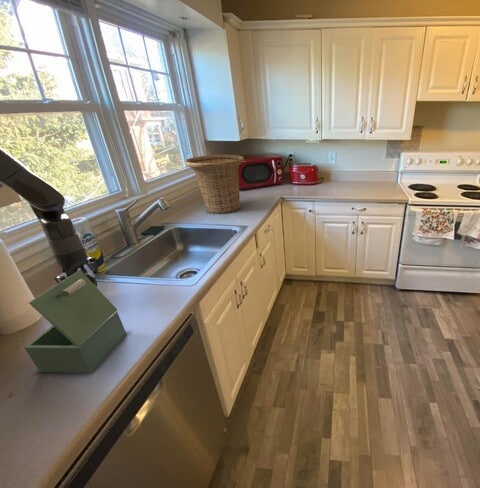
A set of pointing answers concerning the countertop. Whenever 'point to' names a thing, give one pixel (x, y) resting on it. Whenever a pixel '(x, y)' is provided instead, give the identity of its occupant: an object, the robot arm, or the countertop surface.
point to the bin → (75, 348)
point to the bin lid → (74, 307)
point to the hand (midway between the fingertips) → (87, 292)
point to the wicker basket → (218, 181)
